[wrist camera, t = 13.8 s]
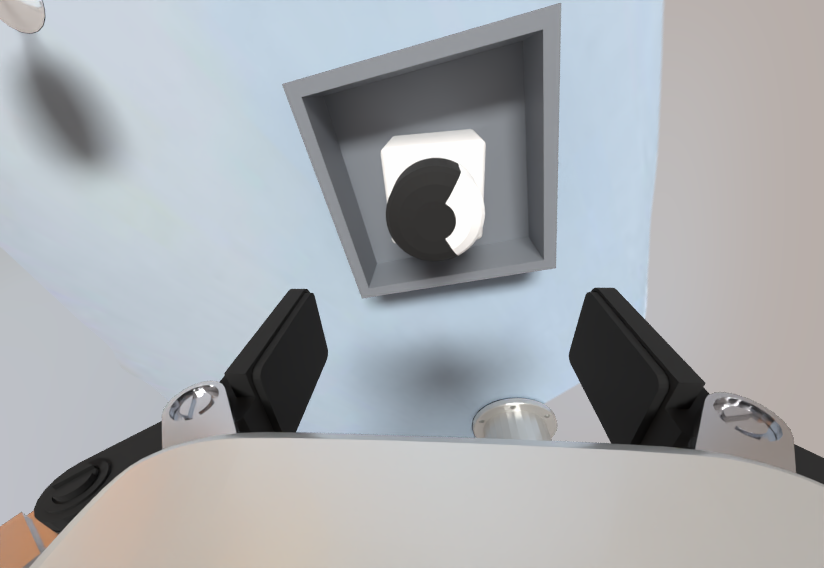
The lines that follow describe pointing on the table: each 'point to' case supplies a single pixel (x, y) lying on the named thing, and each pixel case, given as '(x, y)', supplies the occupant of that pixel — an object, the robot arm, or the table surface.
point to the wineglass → (22, 14)
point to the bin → (437, 112)
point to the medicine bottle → (435, 192)
